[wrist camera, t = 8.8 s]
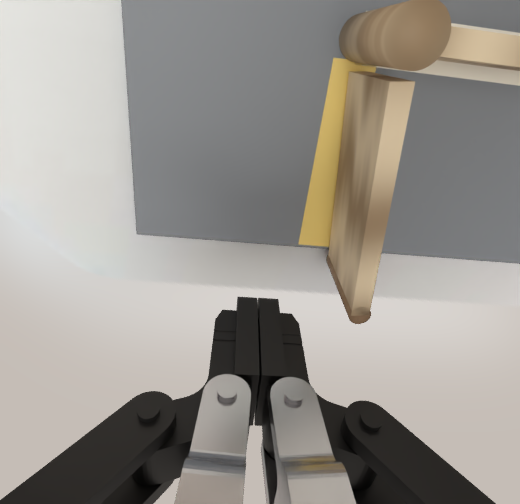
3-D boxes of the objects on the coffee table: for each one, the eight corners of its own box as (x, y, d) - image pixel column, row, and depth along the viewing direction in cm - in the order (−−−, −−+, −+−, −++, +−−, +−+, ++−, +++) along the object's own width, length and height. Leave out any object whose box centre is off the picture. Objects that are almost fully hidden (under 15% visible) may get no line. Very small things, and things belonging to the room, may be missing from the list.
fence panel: (347, 71, 19) (387, 81, 14) (369, 71, 19) (417, 81, 14) (325, 266, 25) (347, 324, 20) (342, 265, 25) (369, 323, 20)
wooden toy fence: (608, 48, 20) (789, 51, 13) (585, 92, 21) (742, 114, 14) (342, 10, 18) (398, -8, 12) (333, 59, 19) (379, 67, 13)
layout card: (704, -61, 17) (715, -63, 17) (524, 261, 27) (528, 264, 26) (113, -168, 15) (109, -174, 14) (138, 231, 24) (136, 234, 24)
